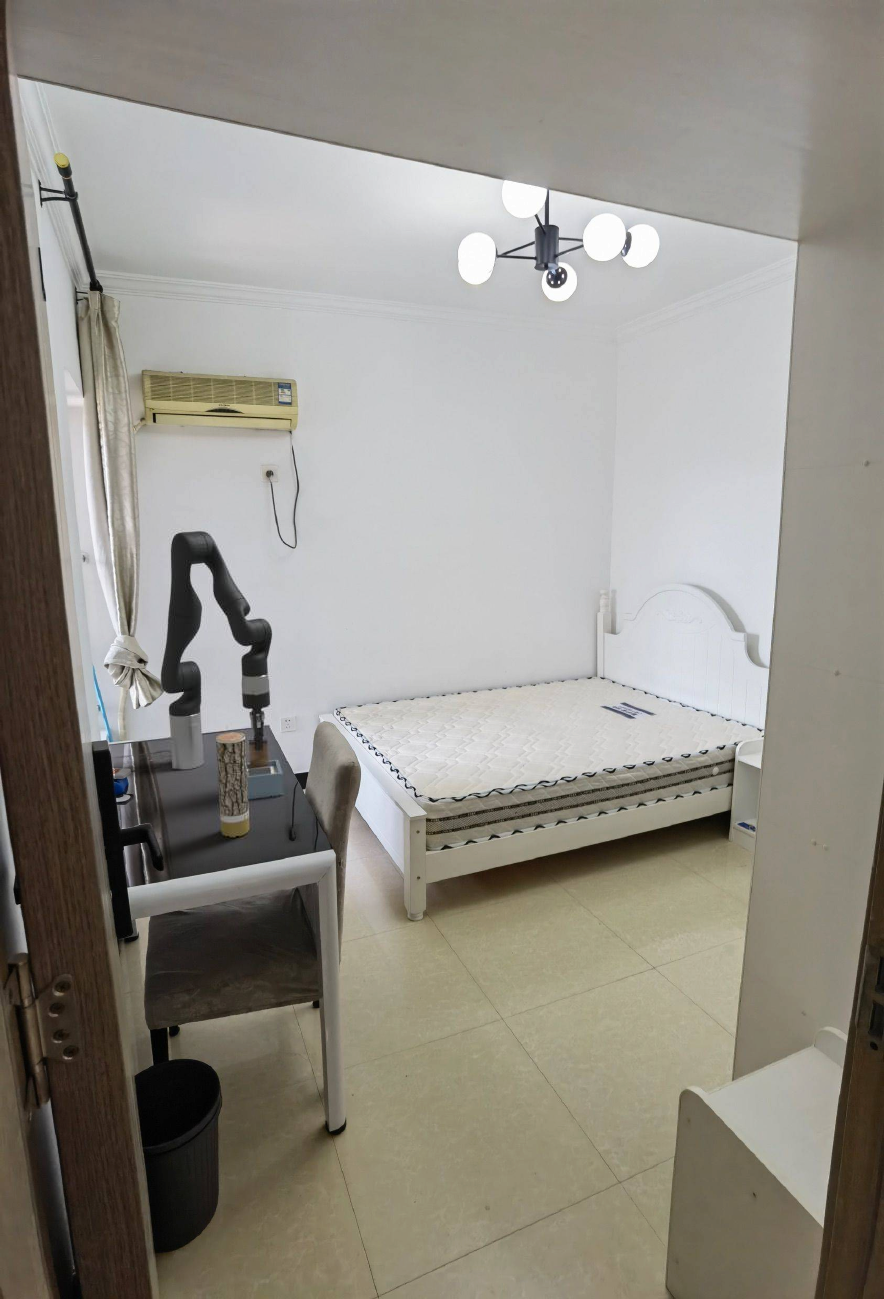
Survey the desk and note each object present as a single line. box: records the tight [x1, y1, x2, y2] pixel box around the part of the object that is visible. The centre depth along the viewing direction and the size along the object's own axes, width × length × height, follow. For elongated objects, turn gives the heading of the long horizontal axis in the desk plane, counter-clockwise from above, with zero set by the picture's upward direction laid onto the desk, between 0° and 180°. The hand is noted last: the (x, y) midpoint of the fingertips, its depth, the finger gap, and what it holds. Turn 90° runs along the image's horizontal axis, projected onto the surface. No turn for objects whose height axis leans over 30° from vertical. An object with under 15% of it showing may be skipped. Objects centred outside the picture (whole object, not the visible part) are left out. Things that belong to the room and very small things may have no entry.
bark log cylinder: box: [215, 732, 250, 838], centre depth 169 cm, size 7×7×25 cm
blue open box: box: [246, 759, 284, 800], centre depth 197 cm, size 12×12×8 cm
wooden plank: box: [248, 738, 269, 768], centre depth 196 cm, size 5×2×10 cm, turn 109°
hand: (258, 748), depth 195 cm, fingers closed on wooden plank, 2 cm apart
